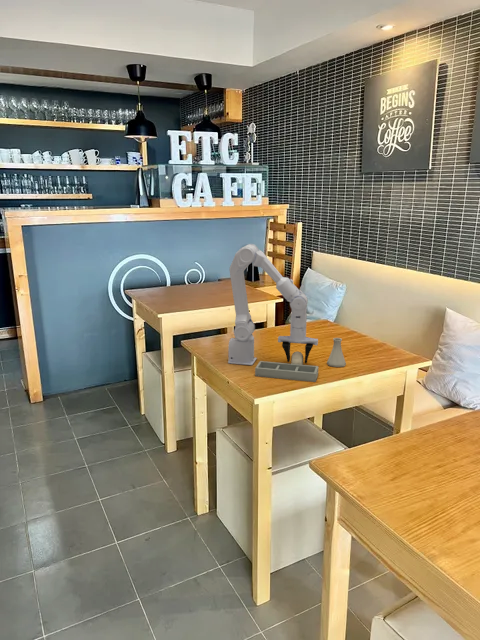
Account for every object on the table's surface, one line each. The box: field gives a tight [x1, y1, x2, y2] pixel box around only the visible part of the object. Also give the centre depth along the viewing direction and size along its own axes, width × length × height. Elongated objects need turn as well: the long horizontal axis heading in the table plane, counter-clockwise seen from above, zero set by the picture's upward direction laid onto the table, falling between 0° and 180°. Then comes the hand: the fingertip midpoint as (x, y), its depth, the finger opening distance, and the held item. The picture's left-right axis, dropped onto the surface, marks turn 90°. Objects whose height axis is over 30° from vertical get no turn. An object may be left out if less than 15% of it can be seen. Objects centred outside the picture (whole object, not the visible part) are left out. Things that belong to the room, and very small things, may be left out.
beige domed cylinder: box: [290, 351, 304, 365], centre depth 183 cm, size 4×4×5 cm
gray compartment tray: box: [254, 360, 319, 383], centre depth 173 cm, size 21×8×3 cm, turn 75°
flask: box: [326, 337, 347, 368], centre depth 183 cm, size 7×7×10 cm
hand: (297, 361), depth 183 cm, fingers open, 6 cm apart
